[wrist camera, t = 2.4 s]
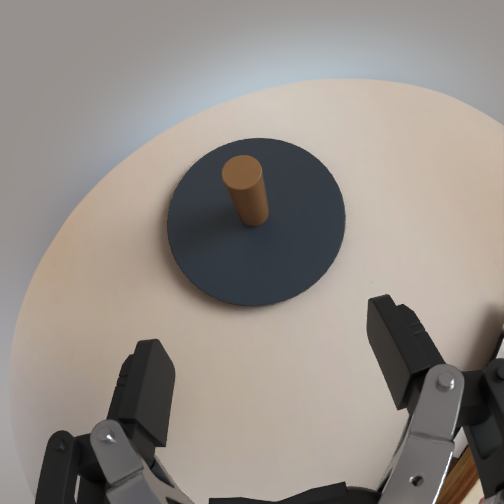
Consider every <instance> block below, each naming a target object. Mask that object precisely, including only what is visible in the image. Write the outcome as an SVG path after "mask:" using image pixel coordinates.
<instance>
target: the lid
mask: <svg viewBox="0 0 504 504" xmlns="http://www.w3.org/2000/svg"><path fill="white" fill-rule="evenodd" d="M345 220H346V215H345V206H344V202H343V197H342V194H341V192H340V189H339V187H338V184H337V183H336V181H335V179H334V177H333V176H332V174H331V173H330V172H329V170H328V169H327V168H326V167H325V166H324V165H323V164H322V163H321V162H320V161H319V160H318V159H317V158H316V157H314V156H313V155H312V154H311V153H309V152H307V151H306V150H304V149H302V148H300V147H298V146H296V145H293V144H291V143H288V142H284V141H281V140H275V139H268V138H251V139H244V140H238V141H235V142H231V143H228V144H226V145H223V146H221V147H218V148H216V149H215V150H213V151H211V152H209V153H208V154H206V155H205V156H203V157H202V158H201V159H200V160H198V161H197V162H196V163H195V164H194V165H193V166H192V167H191V168H190V169H189V170H188V171H187V172H186V174H185V175H184V176H183V178H182V179H181V181H180V182H179V184H178V186H177V188H176V190H175V192H174V194H173V197H172V200H171V203H170V207H169V211H168V220H167V231H168V238H169V244H170V247H171V250H172V254H173V256H174V258H175V260H176V262H177V264H178V265H179V267H180V268H181V270H182V272H183V273H184V274H185V275H186V276H187V277H188V279H189V280H190V281H191V282H192V283H193V284H195V285H196V286H197V287H198V288H199V289H201V290H202V291H204V292H206V293H207V294H209V295H210V296H213V297H215V298H217V299H219V300H222V301H225V302H228V303H232V304H236V305H243V306H265V305H272V304H276V303H280V302H283V301H286V300H288V299H291V298H293V297H295V296H297V295H299V294H301V293H302V292H304V291H306V290H307V289H309V288H310V287H311V286H312V285H314V284H315V283H316V282H317V281H318V280H319V279H320V278H321V277H322V276H323V275H324V274H325V273H326V272H327V270H328V269H329V267H330V266H331V264H332V263H333V262H334V260H335V258H336V256H337V254H338V252H339V250H340V247H341V244H342V241H343V237H344V231H345Z"/></svg>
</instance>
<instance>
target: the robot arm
mask: <svg viewBox="0 0 504 504" xmlns="http://www.w3.org/2000/svg"><path fill="white" fill-rule="evenodd" d="M367 336H368V340H369V343H370V345H371V347H372V350H373V352H374V354H375V356H376V359H377V361H378V363H379V366H380V368H381V371H382V373H383V375H384V378H385V380H386V383H387V385H388V388H389V390H390V393H391V395H392V398H393V400H394V403H395V405H396V408H397V410H401V409H404V408H407V410H408V413H409V417H408V419H407V422H406V425H405V427H404V430H403V433H402V435H401V438H400V440H399V443H398V445H397V448H396V450H395V453H394V455H393V457H392V459H391V461H390V463H389V465H388V467H387V469H386V471H385V473H384V475H383V477H382V479H381V481H380V483H379V485H378V487H377V489H376V491H375V490H372V489H368V488H363V487H354V486H348V487H346V483H345V482H341V483H337V484H332V485H328V486H323V487H318V488H313V489H310V490H307V491H305V492H302V493H300V494H297V495H295V496H292V497H289V498H286V499H284V500H281V501H277V502H272V501H263V500H256V499H249V498H243V497H236V498H209V504H435V503H436V501H437V498H438V496H439V493H440V491H441V488H442V486H443V483H444V480H445V477H446V474H447V471H448V469H449V465H450V462H451V459H452V456H453V452H454V448H455V442H454V441H453V435H454V431H455V427H462V428H463V430H464V433H465V436H466V439H467V441H468V444H469V447H470V450H471V453H472V456H473V459H474V462H475V465H476V469H477V472H478V475H479V479H480V482H481V486H482V490H483V493H484V497H485V500H484V501H483V502H482V504H504V358H496V359H493V360H492V361H490V362H489V364H488V365H487V367H486V368H485V370H477V371H468V372H462V371H460V370H459V369H458V368H456V367H455V366H452V365H449V364H446V363H445V361H444V360H443V358H442V356H441V355H440V353H439V351H438V349H437V348H436V346H435V344H434V343H433V341H432V339H431V338H430V336H429V335H428V333H427V332H426V331H425V328H424V327H423V325H422V323H420V320H419V319H418V317H417V316H416V314H415V313H414V311H413V310H411V309H410V308H408V307H407V306H405V305H404V304H401V305H398V306H396V305H395V303H394V301H393V300H392V298H391V297H390V295H388V294H385V295H382V296H378V297H374V298H370V299H369V300H368V311H367ZM174 383H175V368H174V365H173V363H172V361H171V359H170V358H169V356H168V354H167V353H166V351H165V349H164V348H163V346H162V344H161V343H160V341H159V340H158V339H150V340H141V341H138V343H137V345H136V348H135V352H134V354H132V355H129V356H128V358H127V359H126V360H125V362H124V363H123V364H122V367H121V370H120V374H119V378H118V380H117V384H116V385H117V386H116V387H115V390H114V394H113V397H112V401H111V404H110V408H109V412H108V415H107V418H106V420H103V421H101V422H99V423H98V424H97V425H96V426H95V427H94V428H93V430H92V432H91V433H89V434H85V435H81V436H77V437H74V436H72V435H71V434H70V433H68V432H67V431H64V430H61V431H57V432H55V433H54V434H53V435H52V436H51V437H50V439H49V441H48V444H47V447H46V451H45V456H44V460H43V464H42V469H41V473H40V478H39V483H38V488H37V494H36V500H35V504H76V502H75V499H74V494H75V487H76V481H77V475H79V476H81V477H80V483H79V490H78V498H77V504H195V503H194V502H193V501H192V500H191V499H190V498H189V497H188V496H186V495H185V494H184V493H183V492H182V491H181V490H180V489H179V487H178V486H177V485H176V483H175V482H174V481H173V479H172V478H171V476H170V475H169V474H168V472H167V471H166V469H165V468H164V466H163V465H162V463H161V462H160V460H159V459H158V457H157V456H156V455H155V447H166V441H167V433H168V425H169V418H170V410H171V403H172V396H173V389H174Z"/></svg>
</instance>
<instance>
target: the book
mask: <svg viewBox="0 0 504 504" xmlns="http://www.w3.org/2000/svg"><path fill="white" fill-rule="evenodd" d="M496 358H504V325H503V328H502V331H501V334H500V336H499V339H498V342H497V344H496V347H495V349H494V352H493V354H492V357H491V359H490V361H492V360H493V359H496ZM453 441H454V442H455V448H454V452H453V457H454V458H453V459H452V460H451V462H450V465H449V469H448V471H447V474H446V477H445V480H444V483H443V486H442V488H441V491H440V493H439V496H438V498H437V501H436V503H435V504H482V502H483V501H484V500H485V497H484V493H483V490H482V486H481V482H480V479H479V475H478V472H477V469H476V465H475V462H474V459H473V456H472V453H471V450H470V447H469V446H468V448H467V449H466V451H465V452H464V454H463V455H462V457H461V458H459V456H460V455H461V453H462V452H463V450H464V449H465V447H466V445H467V444H468V441H467V439H466V436H465V433H464V430H463V428H462V427H456V428H455V431H454V435H453Z"/></svg>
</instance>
